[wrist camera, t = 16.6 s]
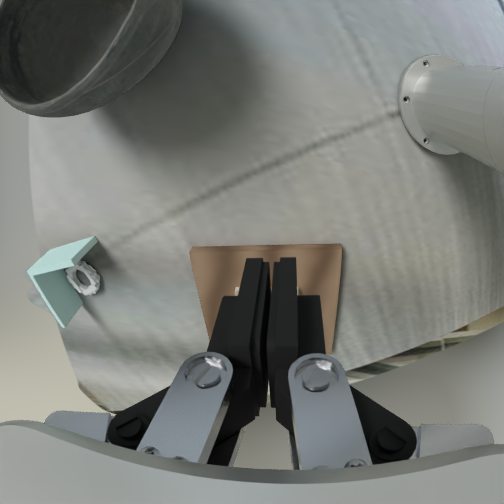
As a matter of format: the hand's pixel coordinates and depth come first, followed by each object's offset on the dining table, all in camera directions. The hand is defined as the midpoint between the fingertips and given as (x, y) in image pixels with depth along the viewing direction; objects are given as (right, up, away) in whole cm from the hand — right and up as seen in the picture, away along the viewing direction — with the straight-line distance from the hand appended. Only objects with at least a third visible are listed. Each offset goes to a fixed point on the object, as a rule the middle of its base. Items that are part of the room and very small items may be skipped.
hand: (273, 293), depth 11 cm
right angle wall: (-29, -2, +37) cm, 47 cm away
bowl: (-17, +29, +17) cm, 37 cm away
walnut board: (+2, -6, +35) cm, 36 cm away
